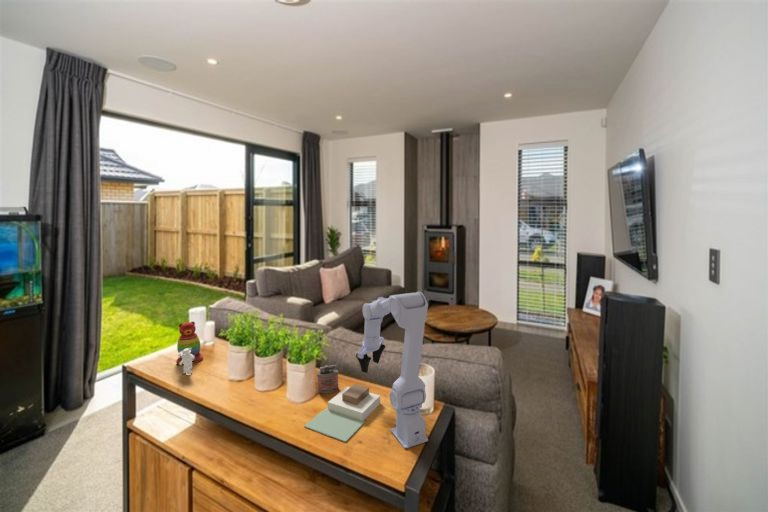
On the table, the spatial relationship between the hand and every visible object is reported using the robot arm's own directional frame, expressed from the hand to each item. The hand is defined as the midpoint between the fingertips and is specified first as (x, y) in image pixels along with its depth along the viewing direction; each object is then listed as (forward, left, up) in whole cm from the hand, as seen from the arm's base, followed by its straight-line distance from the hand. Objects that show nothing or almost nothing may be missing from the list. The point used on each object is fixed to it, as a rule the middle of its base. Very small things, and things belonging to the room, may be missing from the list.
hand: (370, 366), depth 127 cm
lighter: (+9, +14, -11) cm, 20 cm away
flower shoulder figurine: (+48, +64, -11) cm, 81 cm away
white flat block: (-6, +8, -10) cm, 15 cm away
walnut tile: (-5, +8, -7) cm, 12 cm away
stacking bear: (+65, +65, -11) cm, 92 cm away
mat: (-13, +18, -10) cm, 24 cm away
